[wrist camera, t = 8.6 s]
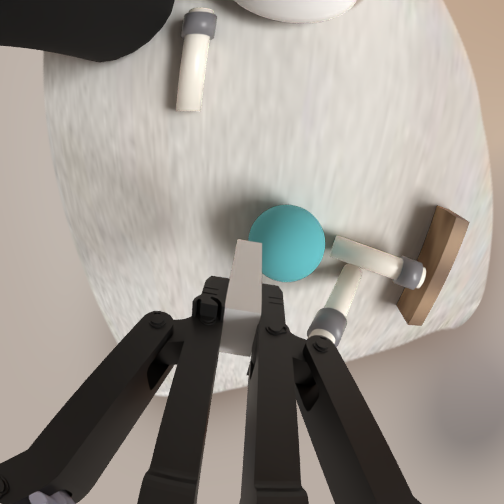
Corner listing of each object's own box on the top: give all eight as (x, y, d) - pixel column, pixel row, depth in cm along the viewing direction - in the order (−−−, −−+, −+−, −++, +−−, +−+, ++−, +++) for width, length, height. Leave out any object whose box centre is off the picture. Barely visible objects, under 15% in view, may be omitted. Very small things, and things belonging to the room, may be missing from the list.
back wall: (437, 205, 22) (456, 217, 19) (450, 210, 22) (469, 222, 19) (396, 305, 27) (408, 324, 24) (409, 306, 27) (421, 325, 24)
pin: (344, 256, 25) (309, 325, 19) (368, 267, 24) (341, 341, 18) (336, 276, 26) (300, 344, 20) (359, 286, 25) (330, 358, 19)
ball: (280, 207, 17) (351, 247, 18) (268, 182, 22) (326, 214, 24) (235, 279, 19) (304, 307, 21) (233, 240, 24) (290, 266, 26)
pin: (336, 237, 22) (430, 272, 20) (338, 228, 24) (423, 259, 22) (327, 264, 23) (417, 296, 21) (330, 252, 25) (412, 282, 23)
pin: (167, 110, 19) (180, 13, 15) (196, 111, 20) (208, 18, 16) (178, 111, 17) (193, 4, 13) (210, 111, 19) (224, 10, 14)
